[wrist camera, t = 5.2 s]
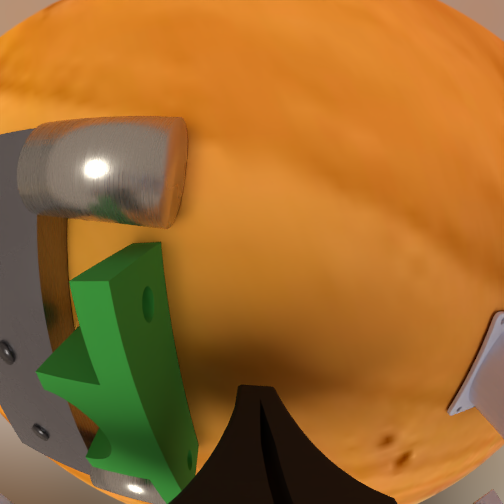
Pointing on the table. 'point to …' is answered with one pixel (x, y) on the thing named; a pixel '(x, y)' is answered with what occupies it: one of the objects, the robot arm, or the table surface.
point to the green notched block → (127, 371)
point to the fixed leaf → (55, 257)
